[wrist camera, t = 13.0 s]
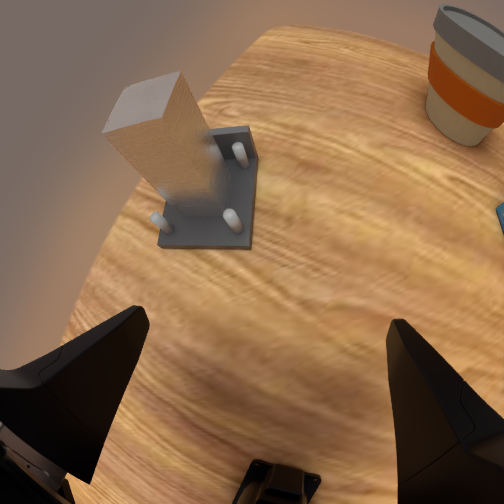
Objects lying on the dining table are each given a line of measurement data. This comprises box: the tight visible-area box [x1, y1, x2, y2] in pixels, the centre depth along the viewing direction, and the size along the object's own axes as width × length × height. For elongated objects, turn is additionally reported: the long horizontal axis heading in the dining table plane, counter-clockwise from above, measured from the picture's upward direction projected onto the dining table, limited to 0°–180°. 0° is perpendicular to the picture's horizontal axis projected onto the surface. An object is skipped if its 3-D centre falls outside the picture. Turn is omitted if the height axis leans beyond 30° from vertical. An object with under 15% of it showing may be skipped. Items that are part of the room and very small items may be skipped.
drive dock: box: [150, 125, 258, 249], centre depth 24 cm, size 10×9×5 cm
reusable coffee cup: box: [426, 4, 504, 146], centre depth 17 cm, size 13×12×15 cm
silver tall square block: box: [102, 71, 232, 217], centre depth 20 cm, size 4×4×13 cm
